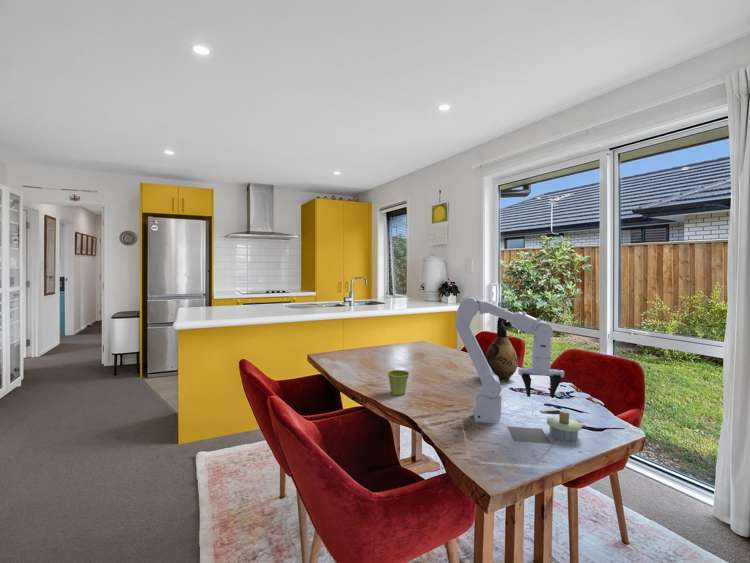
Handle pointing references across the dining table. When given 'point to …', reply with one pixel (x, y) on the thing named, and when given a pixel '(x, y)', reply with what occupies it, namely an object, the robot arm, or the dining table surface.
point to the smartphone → (556, 411)
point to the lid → (564, 422)
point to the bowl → (563, 434)
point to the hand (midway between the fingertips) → (540, 396)
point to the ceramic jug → (502, 353)
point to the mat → (528, 434)
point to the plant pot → (398, 381)
